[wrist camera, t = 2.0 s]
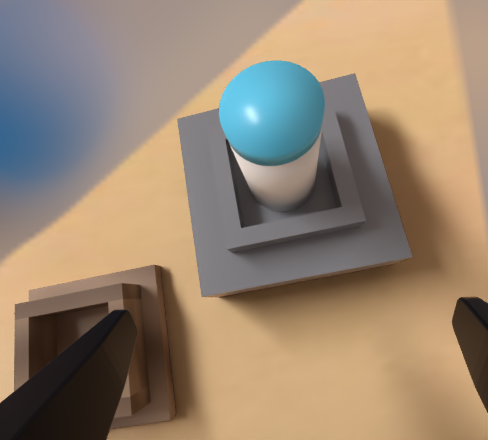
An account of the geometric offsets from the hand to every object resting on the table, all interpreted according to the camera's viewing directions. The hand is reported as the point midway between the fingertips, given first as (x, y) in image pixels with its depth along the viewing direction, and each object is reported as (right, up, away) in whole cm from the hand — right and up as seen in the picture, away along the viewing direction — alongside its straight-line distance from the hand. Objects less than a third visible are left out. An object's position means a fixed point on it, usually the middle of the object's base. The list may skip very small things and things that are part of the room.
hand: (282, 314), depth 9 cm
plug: (+1, +5, +11) cm, 12 cm away
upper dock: (+2, +4, +15) cm, 15 cm away
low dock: (-11, -7, +14) cm, 19 cm away
